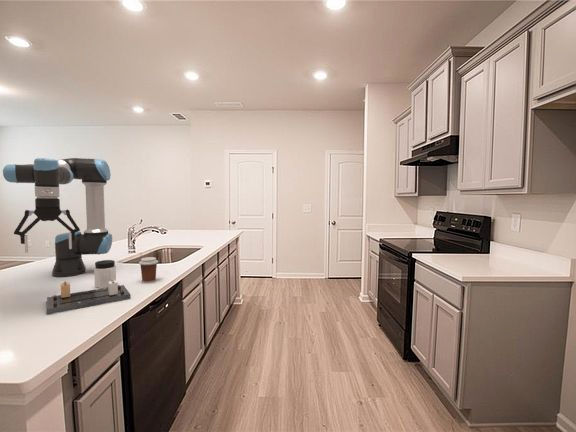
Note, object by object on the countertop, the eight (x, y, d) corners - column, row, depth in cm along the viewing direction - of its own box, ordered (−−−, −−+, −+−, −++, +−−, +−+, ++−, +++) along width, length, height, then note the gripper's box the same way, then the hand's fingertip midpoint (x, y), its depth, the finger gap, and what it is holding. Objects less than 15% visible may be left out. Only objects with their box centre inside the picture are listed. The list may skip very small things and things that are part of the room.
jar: (94, 289, 136) (93, 264, 135) (94, 284, 143) (94, 261, 142) (116, 286, 141) (115, 262, 140) (115, 282, 147) (115, 259, 147)
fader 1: (61, 295, 120) (60, 282, 120) (69, 293, 122) (69, 281, 122) (61, 297, 117) (60, 284, 117) (70, 296, 119) (70, 283, 119)
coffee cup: (145, 284, 144) (145, 261, 144) (135, 281, 149) (135, 258, 148) (162, 280, 152) (161, 258, 151) (151, 277, 157) (151, 255, 156)
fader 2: (108, 292, 124) (107, 280, 124) (116, 291, 126) (115, 279, 126) (109, 295, 121) (109, 282, 121) (117, 293, 123) (117, 281, 123)
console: (47, 301, 119) (47, 294, 119) (123, 289, 137) (123, 282, 137) (46, 314, 107) (46, 306, 107) (130, 298, 125) (130, 292, 124)
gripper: (2, 197, 103) (5, 255, 104) (86, 198, 119) (87, 248, 121) (4, 197, 109) (7, 252, 110) (84, 198, 125) (85, 245, 126)
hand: (49, 250), depth 115 cm, fingers open, 13 cm apart
